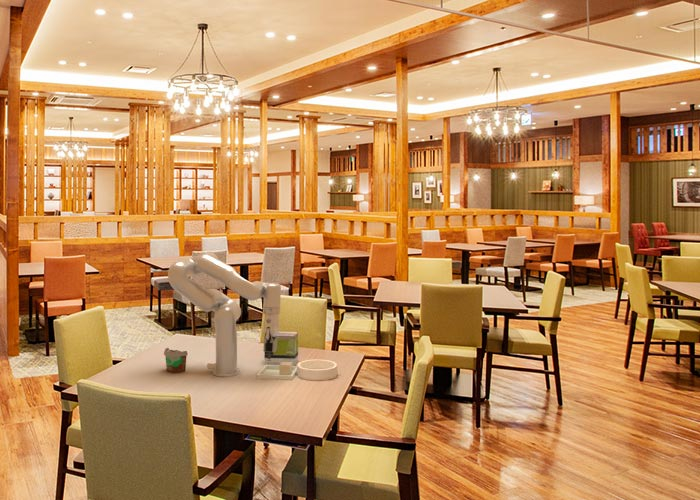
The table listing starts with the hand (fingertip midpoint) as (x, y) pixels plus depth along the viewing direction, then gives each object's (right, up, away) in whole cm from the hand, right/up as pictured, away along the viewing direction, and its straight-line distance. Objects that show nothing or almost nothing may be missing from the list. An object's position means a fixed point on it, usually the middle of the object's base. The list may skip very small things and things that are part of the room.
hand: (270, 349), depth 278 cm
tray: (+4, -12, +1) cm, 12 cm away
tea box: (+3, -10, +21) cm, 23 cm away
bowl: (+21, -12, +1) cm, 24 cm away
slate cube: (0, -1, 0) cm, 1 cm away
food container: (-45, -11, +4) cm, 47 cm away
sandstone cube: (+7, -11, 0) cm, 14 cm away
